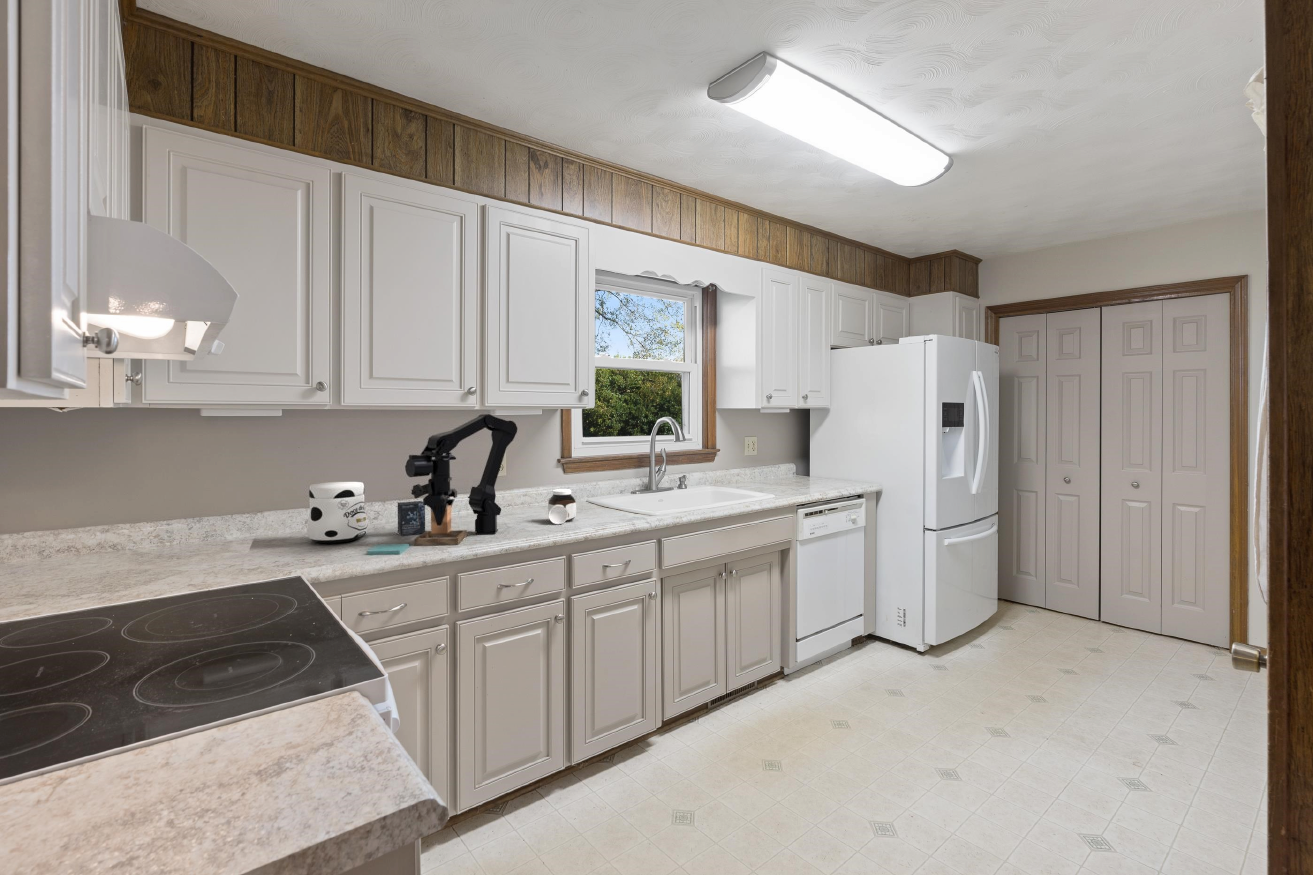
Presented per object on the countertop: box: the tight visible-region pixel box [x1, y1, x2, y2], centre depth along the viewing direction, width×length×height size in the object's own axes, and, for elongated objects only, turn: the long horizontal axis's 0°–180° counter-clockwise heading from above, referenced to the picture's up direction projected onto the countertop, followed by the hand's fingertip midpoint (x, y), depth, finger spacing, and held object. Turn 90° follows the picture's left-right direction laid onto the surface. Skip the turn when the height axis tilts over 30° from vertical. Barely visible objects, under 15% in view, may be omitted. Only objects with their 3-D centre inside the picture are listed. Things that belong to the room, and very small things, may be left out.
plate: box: [366, 543, 410, 556], centre depth 181 cm, size 9×9×1 cm
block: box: [430, 505, 452, 533], centre depth 195 cm, size 5×5×8 cm
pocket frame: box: [413, 529, 468, 547], centre depth 195 cm, size 13×13×2 cm
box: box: [397, 500, 426, 537], centre depth 207 cm, size 8×6×11 cm
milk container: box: [306, 481, 369, 544], centre depth 195 cm, size 17×17×18 cm
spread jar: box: [547, 488, 577, 525], centre depth 228 cm, size 12×11×12 cm
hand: (441, 523), depth 195 cm, fingers closed on block, 5 cm apart
